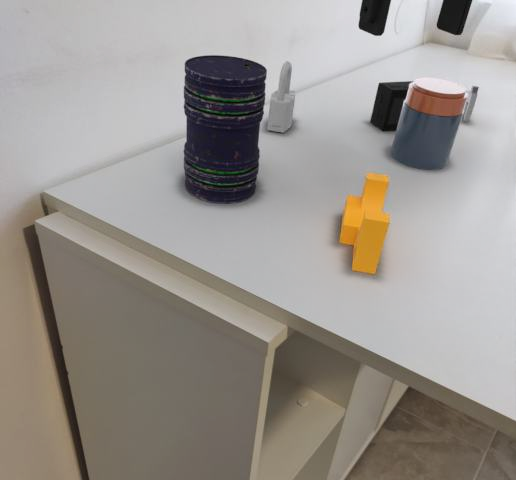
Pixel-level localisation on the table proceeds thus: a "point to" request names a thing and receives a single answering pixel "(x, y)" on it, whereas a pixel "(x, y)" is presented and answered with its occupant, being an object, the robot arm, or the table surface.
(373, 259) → the orange stepped block
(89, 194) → the table surface
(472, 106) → the caliper
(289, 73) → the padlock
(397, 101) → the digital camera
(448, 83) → the lidded canister
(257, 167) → the storage jar
